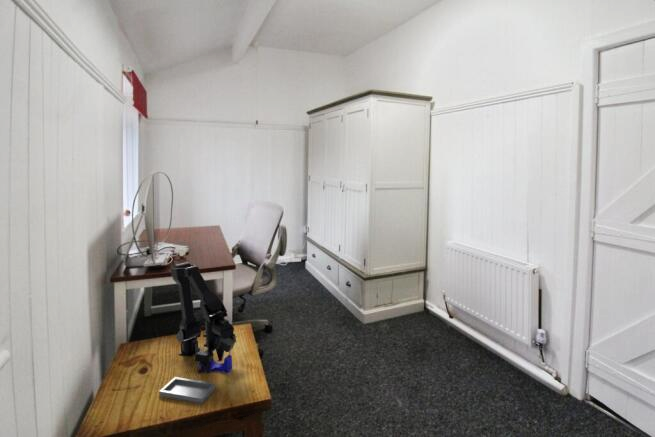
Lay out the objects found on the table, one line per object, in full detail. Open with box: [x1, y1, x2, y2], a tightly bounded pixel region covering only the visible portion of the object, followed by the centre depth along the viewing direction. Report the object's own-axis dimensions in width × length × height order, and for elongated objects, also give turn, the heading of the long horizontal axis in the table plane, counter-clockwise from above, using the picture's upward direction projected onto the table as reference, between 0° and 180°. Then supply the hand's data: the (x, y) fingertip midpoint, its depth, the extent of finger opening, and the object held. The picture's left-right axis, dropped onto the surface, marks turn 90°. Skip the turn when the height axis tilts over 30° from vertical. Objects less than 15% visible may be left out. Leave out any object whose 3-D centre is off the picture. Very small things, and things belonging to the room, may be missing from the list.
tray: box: [158, 376, 217, 405], centre depth 133 cm, size 17×9×2 cm, turn 77°
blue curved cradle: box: [199, 354, 233, 374], centre depth 147 cm, size 12×4×6 cm, turn 72°
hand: (214, 366), depth 147 cm, fingers open, 9 cm apart
